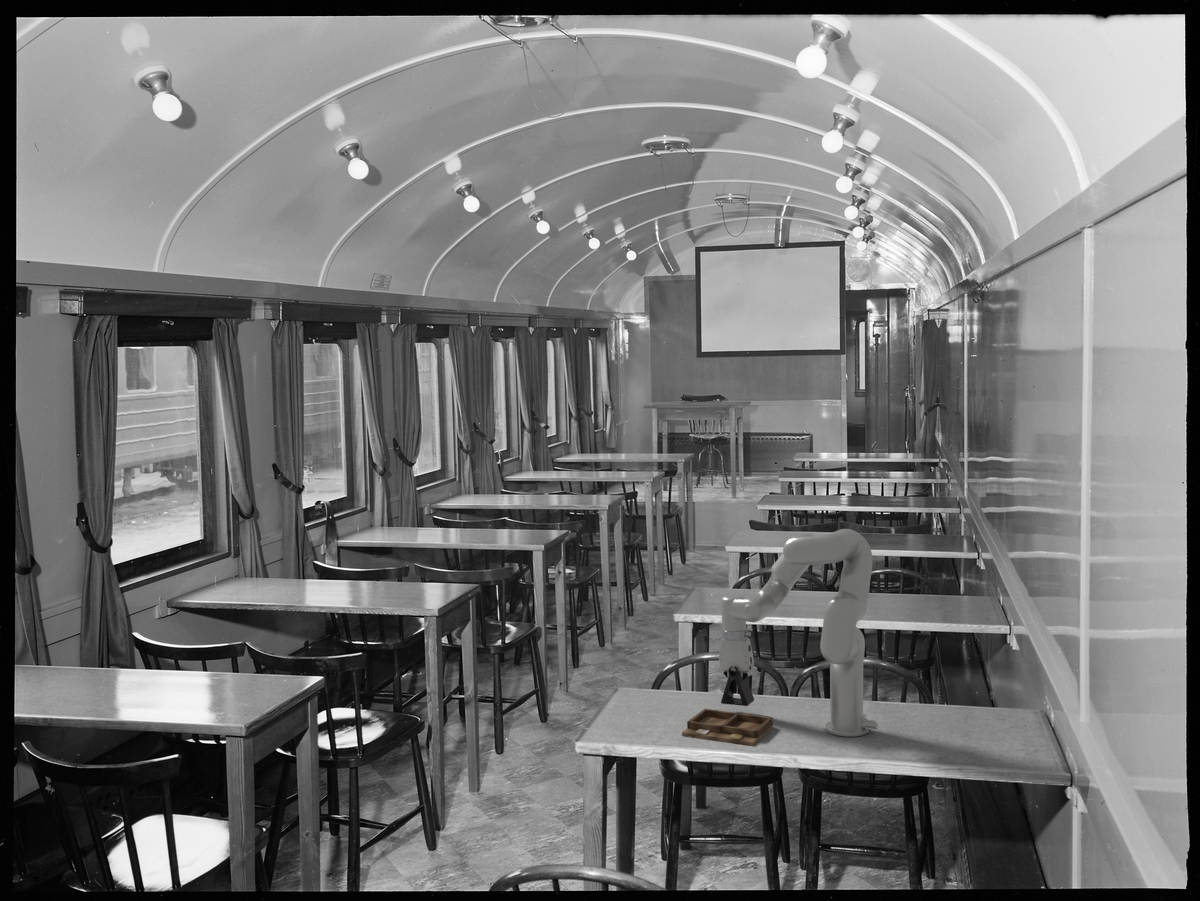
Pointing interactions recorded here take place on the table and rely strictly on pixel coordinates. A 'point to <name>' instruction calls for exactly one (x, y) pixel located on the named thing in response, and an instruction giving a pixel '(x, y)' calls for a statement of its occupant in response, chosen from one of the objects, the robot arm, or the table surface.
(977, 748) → the table surface
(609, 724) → the table surface
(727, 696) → the phone stand
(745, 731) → the bay board
